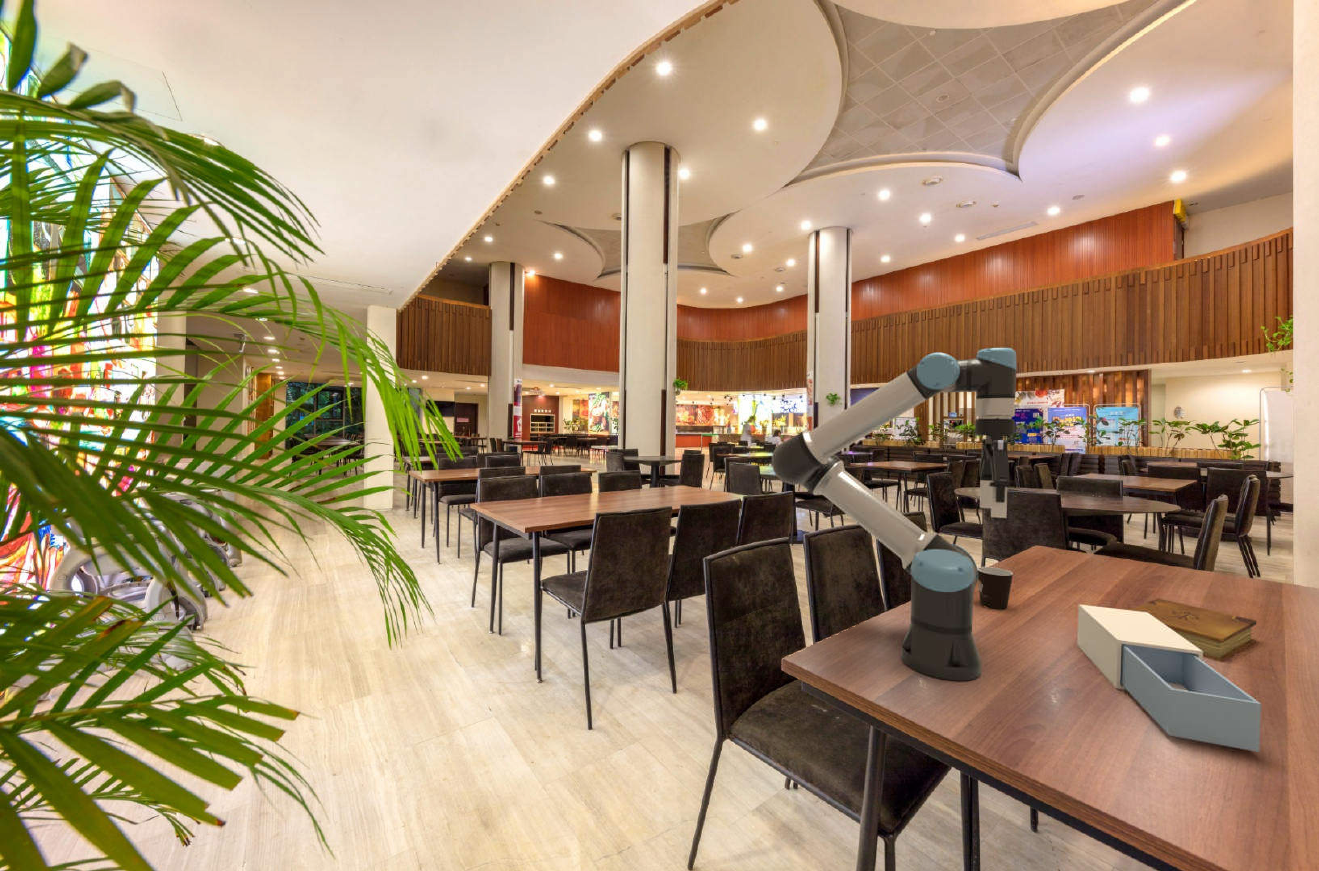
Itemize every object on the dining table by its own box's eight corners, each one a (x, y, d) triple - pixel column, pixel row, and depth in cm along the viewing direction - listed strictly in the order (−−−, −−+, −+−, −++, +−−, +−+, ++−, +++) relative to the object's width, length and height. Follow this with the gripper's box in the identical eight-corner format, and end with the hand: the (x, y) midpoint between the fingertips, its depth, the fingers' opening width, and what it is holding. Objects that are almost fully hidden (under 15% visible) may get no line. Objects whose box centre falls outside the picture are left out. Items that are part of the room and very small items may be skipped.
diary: (1153, 618, 143) (1154, 597, 142) (1255, 644, 126) (1256, 620, 126) (1115, 633, 131) (1116, 610, 131) (1221, 663, 115) (1222, 637, 115)
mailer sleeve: (1201, 702, 98) (1203, 651, 98) (1116, 688, 103) (1117, 639, 103) (1146, 654, 118) (1147, 612, 118) (1077, 644, 123) (1078, 604, 123)
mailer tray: (1259, 751, 82) (1261, 703, 81) (1169, 735, 86) (1170, 689, 86) (1183, 686, 102) (1185, 648, 102) (1113, 675, 106) (1115, 638, 106)
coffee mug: (1010, 613, 143) (1011, 577, 143) (974, 606, 148) (975, 571, 148) (1013, 602, 152) (1014, 568, 152) (979, 596, 158) (979, 563, 157)
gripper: (1029, 417, 105) (1026, 523, 105) (1002, 418, 127) (1000, 505, 128) (985, 417, 107) (982, 520, 108) (967, 418, 130) (964, 503, 131)
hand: (992, 512), depth 118 cm, fingers open, 13 cm apart
